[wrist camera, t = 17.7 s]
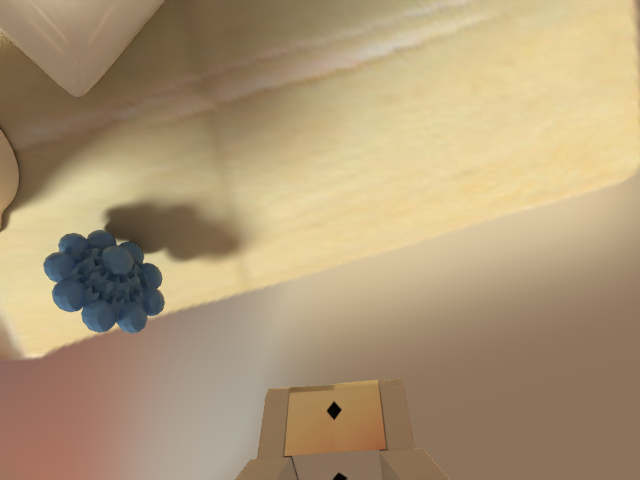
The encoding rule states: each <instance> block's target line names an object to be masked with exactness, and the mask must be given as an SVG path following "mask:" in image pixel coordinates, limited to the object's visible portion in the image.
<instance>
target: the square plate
mask: <svg viewBox="0 0 640 480" xmlns="http://www.w3.org/2000/svg"><path fill="white" fill-rule="evenodd" d="M164 2H165V0H0V31H1V32H2V33H3V34H4V35H5V36H6V37H7V38H8V39H9V40H10V41H11V42H13V43H14V44H15V45H16V46H17V47H18V48H19V49H20V50H21V51H22V52H23V53H24V54H25V55H26V56H27V57H29V58H30V59H31V60H32V61H33V62H34V63H35V64H36V65H37V66H38V67H40V68H41V69H42V70H43V71H44V72H45V73H46V74H47V75H48V76H49V77H50V78H51V79H52V80H54V81H55V82H56V83H57V84H58V85H59V86H60V87H62V88H63V89H64V90H65V91H66V92H68V93H69V94H70V95H72V96H73V97H77V98H79V97H82V96H83V95H85V94H86V93H87V92H88V91H89V90H90V89H91V88H92V87H93V86H94V85H95V84H96V83H97V82H98V81H99V80H100V79H101V77H102V76H103V75H104V74H105V73H106V72H107V71H108V69H109V68H110V67H111V66H112V64H113V63H114V62H115V61H116V59H117V58H118V57H119V56H120V54H121V53H122V52H123V51H124V50H125V48H126V47H127V46H128V45H129V43H130V42H131V41H132V40H133V39H134V37H135V36H136V35H137V34H138V32H139V31H140V30H141V29H142V27H143V26H144V25H145V24H146V23H147V21H148V20H149V19H150V18H151V17H152V16H153V15H154V13H155V12H156V11H157V10H158V9H159V8H160V6H161V5H162V4H163V3H164Z"/></svg>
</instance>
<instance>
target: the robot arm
mask: <svg viewBox="0 0 640 480" xmlns="http://www.w3.org/2000/svg"><path fill="white" fill-rule="evenodd" d="M18 184H19V171H18V165H17V161H16V158H15V155H14V152H13V150H12V148H11V146H10V144H9V142H8V140H7V139H6V137H5V135H4V134H3V132H2V131H1V130H0V228H1V222H2V214H3V212H4V210H5V209H6V208H7V207H8V205H9V204H10V203H11V202H12V200H13V199H14V197H15V195H16V192H17V189H18ZM235 480H450V479H449V478H448V476H447V475H446V474H445V473H444V472H443V471H442V470H441V469H440V468H439V466H438V465H437V464H436V463H435V462H434V461H433V460H432V458H431V457H430V456H429V455H428V454H427V453H426V452H425V451H424V449H422V448H415V444H414V439H413V434H412V428H411V423H410V418H409V412H408V407H407V402H406V396H405V390H404V385H403V382H402V380H401V379H389V380H379V382H378V380H371V381H361V382H350V383H340V384H334V385H323V386H305V387H286V388H274V389H273V388H272V389H268V392H267V394H266V398H265V406H264V413H263V420H262V428H261V435H260V441H259V449H258V456H257V459H253V460H250V461H249V462H248V463H247V465H246V466H245V467H244V469H243V470H242V471H241V473H240V474H239V475H238V476H237V478H236V479H235Z"/></svg>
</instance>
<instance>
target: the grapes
mask: <svg viewBox="0 0 640 480" xmlns="http://www.w3.org/2000/svg"><path fill="white" fill-rule="evenodd" d="M58 246H59V251H60V252H57V253H52V254H51V255H49V256H48V257H46V259H45V262H44V264H43V266H44V271H45V273H46V275H47V276H48V277H49V278H50V280H52V281H54V282H57V284H56V285H55V286H54V288H53V291H52V296H53V301H54V302H55V303H56V305H57V306H58V307H59V308H60V309H62V310H64V311H68V312H74V311H78V310H80V309H81V308H83V310H82V313H81V314H82V319H83V322H84V323H85V325H86V326H87V327H88V328H89V329H90V330H92V331H95V332H99V333H101V332H106V331H108V330H109V329H110V328H111V327H113V326H114V325H115V322H116V323H117V324H118V325H119V327H120V328H121V329H122V330H123V331H126V332H129V333H137V332H140V331H141V330H142V329H143V328H144V327H145V326H146V323H147V319H148V318H147V315H148V316H154V315H158V314H159V313H160V312H161V311H162V310H163V307H164V304H165V302H164V297H163V295H162V293H161V292H160V291H159V290H158V289H157V288H158V287H159V286H160V285H161V283H162V274H161V272H160V270H159V268H158V267H156V266H155V265H153V264H151V263H144V264H142V263H143V260H144V254H143V251H142V249H141V248H140V246H138V245H137V244H136V243H133V242H124V243H121V244H120V245H119V246H118V245H117V244H116V240H115V238H114V237H113V235H112V234H110V233H109V232H107V231H104V230H97V231H93V232H92V233H91V234H89V235H88V238H87V239H86V238H85V237H84V236H82V235H81V234H76V233H71V234H66V235H65V236H63V237H62V238H61V239H60V242H59V244H58Z"/></svg>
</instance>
